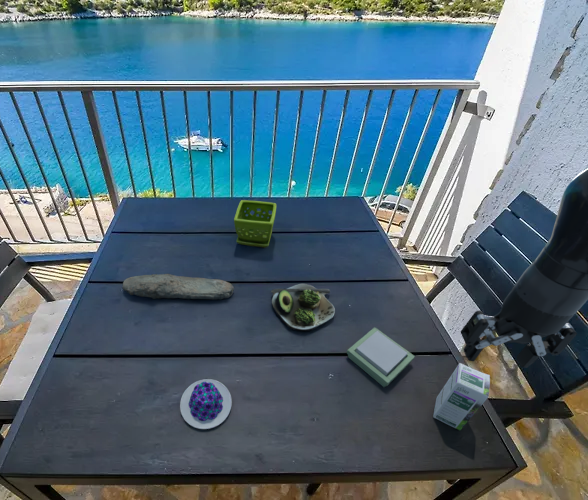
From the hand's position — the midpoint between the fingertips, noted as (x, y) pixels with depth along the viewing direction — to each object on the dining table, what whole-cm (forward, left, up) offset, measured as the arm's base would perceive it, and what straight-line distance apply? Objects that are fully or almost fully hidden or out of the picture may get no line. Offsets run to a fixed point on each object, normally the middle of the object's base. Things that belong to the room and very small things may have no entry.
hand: (494, 359), depth 61 cm
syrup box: (+1, -5, -27) cm, 27 cm away
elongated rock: (+73, +23, -27) cm, 81 cm away
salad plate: (+44, -2, -27) cm, 51 cm away
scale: (+19, -5, -26) cm, 33 cm away
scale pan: (+19, -5, -24) cm, 31 cm away
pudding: (+37, +37, -27) cm, 59 cm away
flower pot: (+79, -14, -27) cm, 84 cm away
